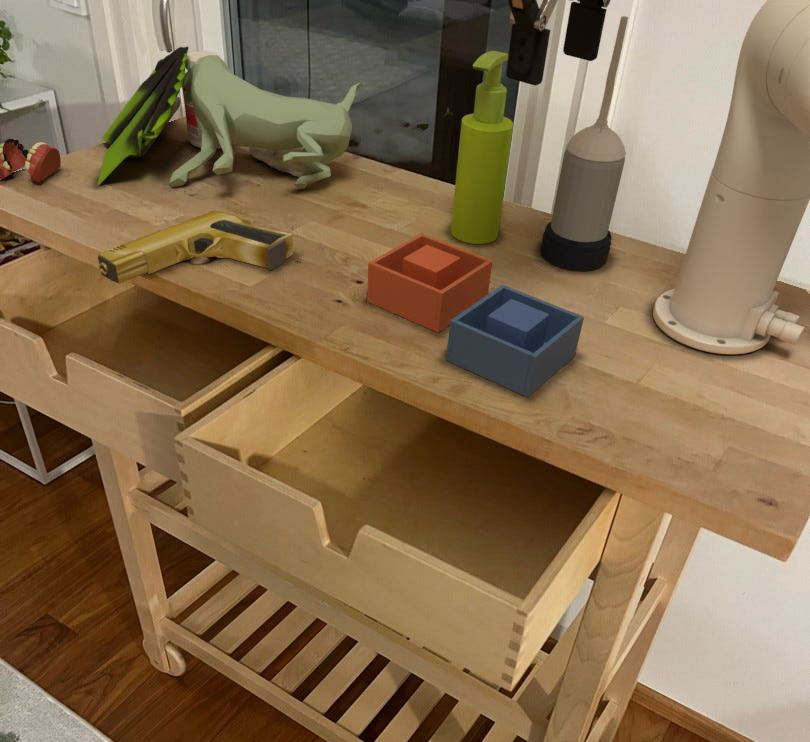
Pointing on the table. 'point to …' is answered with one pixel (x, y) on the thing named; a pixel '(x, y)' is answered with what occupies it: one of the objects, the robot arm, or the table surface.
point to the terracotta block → (432, 267)
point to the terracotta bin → (420, 298)
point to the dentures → (28, 159)
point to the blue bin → (507, 359)
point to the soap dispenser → (483, 158)
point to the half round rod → (146, 147)
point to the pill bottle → (189, 109)
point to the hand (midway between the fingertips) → (552, 68)
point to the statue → (262, 122)
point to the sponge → (280, 160)
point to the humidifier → (587, 188)
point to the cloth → (145, 111)
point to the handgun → (197, 246)
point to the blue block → (518, 325)
